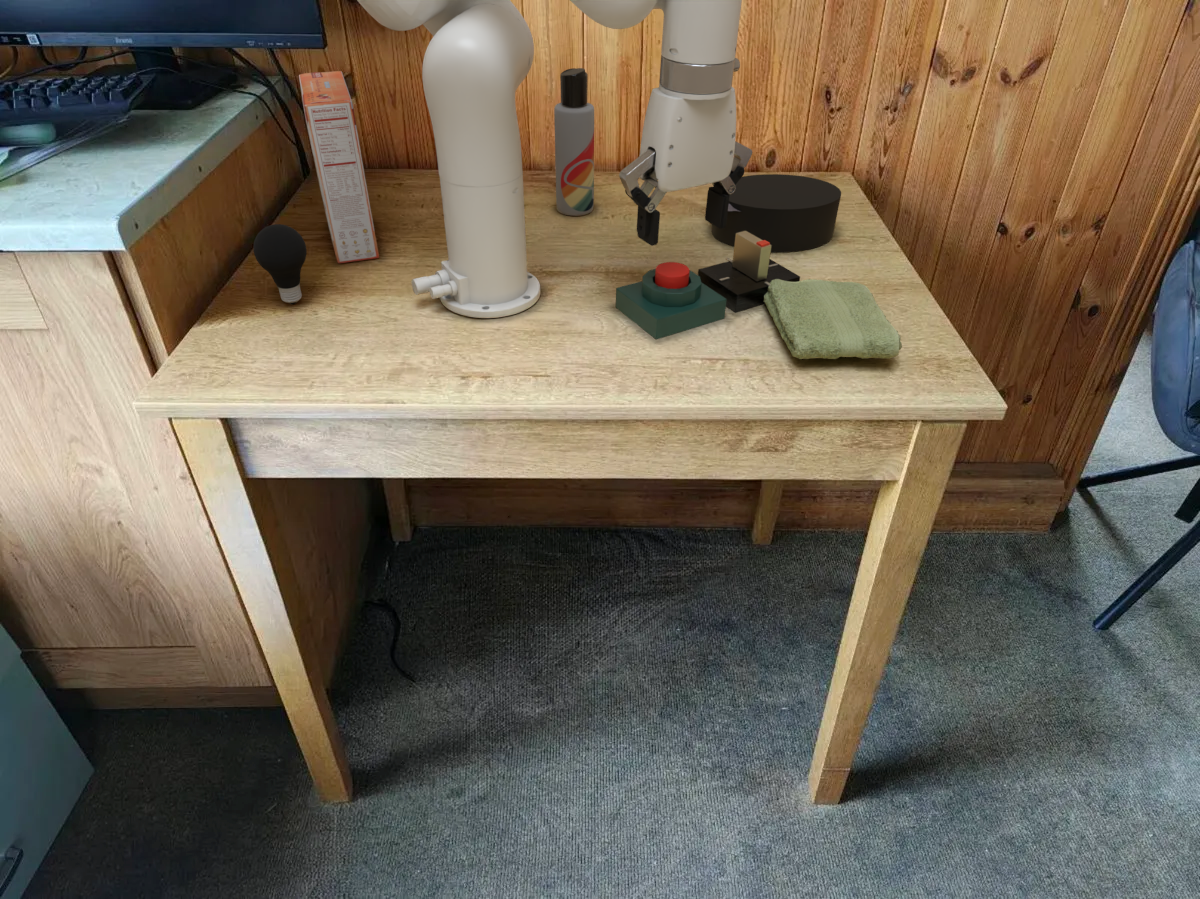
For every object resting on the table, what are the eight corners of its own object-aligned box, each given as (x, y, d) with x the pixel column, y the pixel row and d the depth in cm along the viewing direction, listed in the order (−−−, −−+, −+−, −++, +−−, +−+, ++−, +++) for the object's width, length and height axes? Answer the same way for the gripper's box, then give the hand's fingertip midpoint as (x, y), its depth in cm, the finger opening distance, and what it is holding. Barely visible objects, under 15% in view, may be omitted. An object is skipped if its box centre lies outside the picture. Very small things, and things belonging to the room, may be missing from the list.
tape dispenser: (843, 258, 118) (857, 206, 113) (718, 252, 116) (727, 199, 111) (814, 220, 129) (826, 171, 125) (700, 214, 127) (707, 165, 123)
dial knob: (731, 266, 107) (735, 231, 104) (741, 263, 108) (745, 228, 105) (756, 281, 104) (761, 245, 101) (766, 278, 104) (772, 243, 102)
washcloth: (862, 294, 106) (866, 270, 104) (905, 364, 91) (911, 338, 89) (758, 296, 106) (761, 272, 104) (785, 366, 91) (789, 340, 89)
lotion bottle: (593, 217, 125) (594, 75, 113) (555, 216, 126) (551, 74, 113) (594, 202, 130) (595, 64, 118) (557, 201, 130) (554, 63, 118)
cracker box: (327, 225, 122) (296, 72, 109) (369, 220, 124) (344, 68, 111) (334, 265, 112) (301, 101, 99) (380, 260, 113) (354, 97, 100)
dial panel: (738, 315, 102) (740, 295, 101) (693, 285, 108) (695, 266, 107) (800, 296, 106) (803, 277, 105) (754, 268, 112) (756, 249, 111)
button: (667, 293, 98) (668, 279, 97) (648, 279, 100) (649, 266, 99) (695, 285, 99) (696, 272, 98) (675, 272, 102) (676, 259, 101)
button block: (656, 340, 97) (658, 305, 95) (615, 307, 103) (616, 274, 101) (724, 319, 101) (728, 285, 99) (681, 289, 108) (684, 256, 105)
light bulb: (267, 317, 100) (246, 239, 94) (269, 295, 105) (249, 218, 99) (318, 311, 102) (300, 233, 96) (317, 290, 106) (301, 214, 100)
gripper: (738, 58, 93) (720, 207, 103) (605, 76, 85) (601, 235, 96) (784, 74, 88) (760, 229, 98) (647, 95, 80) (637, 261, 91)
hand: (681, 232), depth 97 cm, fingers open, 9 cm apart
